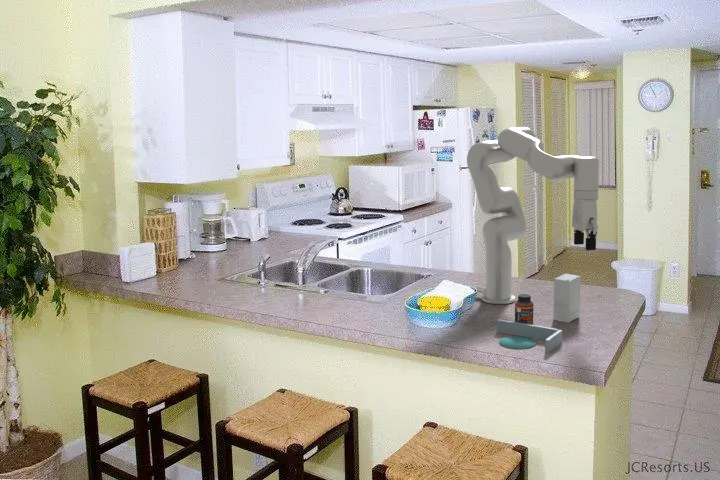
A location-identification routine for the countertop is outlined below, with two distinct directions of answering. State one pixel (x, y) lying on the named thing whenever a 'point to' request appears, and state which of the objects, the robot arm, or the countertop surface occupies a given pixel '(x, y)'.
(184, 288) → the countertop surface
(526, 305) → the supplement bottle
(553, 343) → the divider wall
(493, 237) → the robot arm
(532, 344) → the pad
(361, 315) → the countertop surface
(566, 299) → the skincare box
